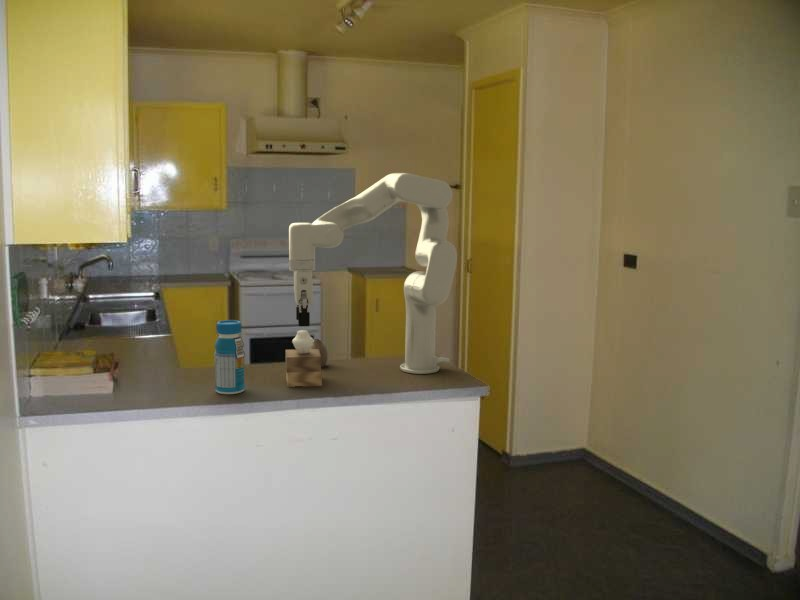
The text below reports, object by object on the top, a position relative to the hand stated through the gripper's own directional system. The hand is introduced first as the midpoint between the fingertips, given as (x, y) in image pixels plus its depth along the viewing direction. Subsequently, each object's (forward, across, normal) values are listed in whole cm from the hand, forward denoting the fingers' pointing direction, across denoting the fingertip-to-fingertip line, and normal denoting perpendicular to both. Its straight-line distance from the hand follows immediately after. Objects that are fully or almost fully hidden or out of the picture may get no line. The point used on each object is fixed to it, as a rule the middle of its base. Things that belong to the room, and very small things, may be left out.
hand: (302, 322), depth 224 cm
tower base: (+18, 0, 0) cm, 18 cm away
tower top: (+14, 0, 0) cm, 14 cm away
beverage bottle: (+18, -7, +21) cm, 29 cm away
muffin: (+9, 0, 0) cm, 9 cm away
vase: (+18, +19, -6) cm, 27 cm away
